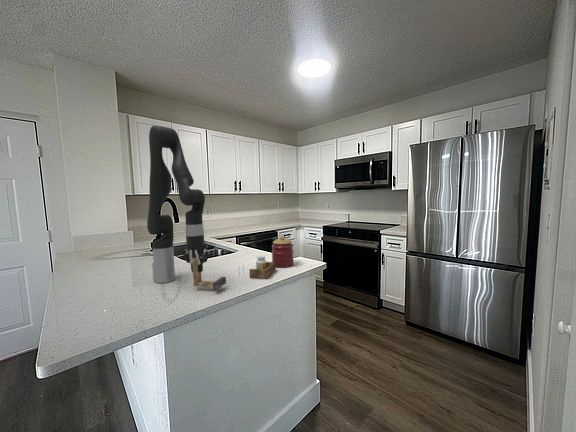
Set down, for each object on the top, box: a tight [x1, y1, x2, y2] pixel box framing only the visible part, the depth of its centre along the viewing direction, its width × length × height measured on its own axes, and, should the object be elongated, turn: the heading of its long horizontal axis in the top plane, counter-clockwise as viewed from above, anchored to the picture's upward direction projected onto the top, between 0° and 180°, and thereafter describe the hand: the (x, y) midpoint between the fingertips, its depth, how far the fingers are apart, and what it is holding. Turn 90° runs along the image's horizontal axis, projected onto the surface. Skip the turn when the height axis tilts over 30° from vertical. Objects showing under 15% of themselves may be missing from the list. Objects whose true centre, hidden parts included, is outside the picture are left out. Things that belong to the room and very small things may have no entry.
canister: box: [271, 235, 294, 269], centre depth 147 cm, size 13×13×18 cm
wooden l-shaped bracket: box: [192, 256, 227, 291], centre depth 110 cm, size 13×8×13 cm, turn 77°
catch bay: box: [249, 261, 277, 280], centre depth 131 cm, size 10×15×4 cm, turn 167°
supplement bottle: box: [255, 255, 267, 269], centre depth 131 cm, size 5×5×10 cm
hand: (197, 271), depth 112 cm, fingers closed on wooden l-shaped bracket, 2 cm apart
